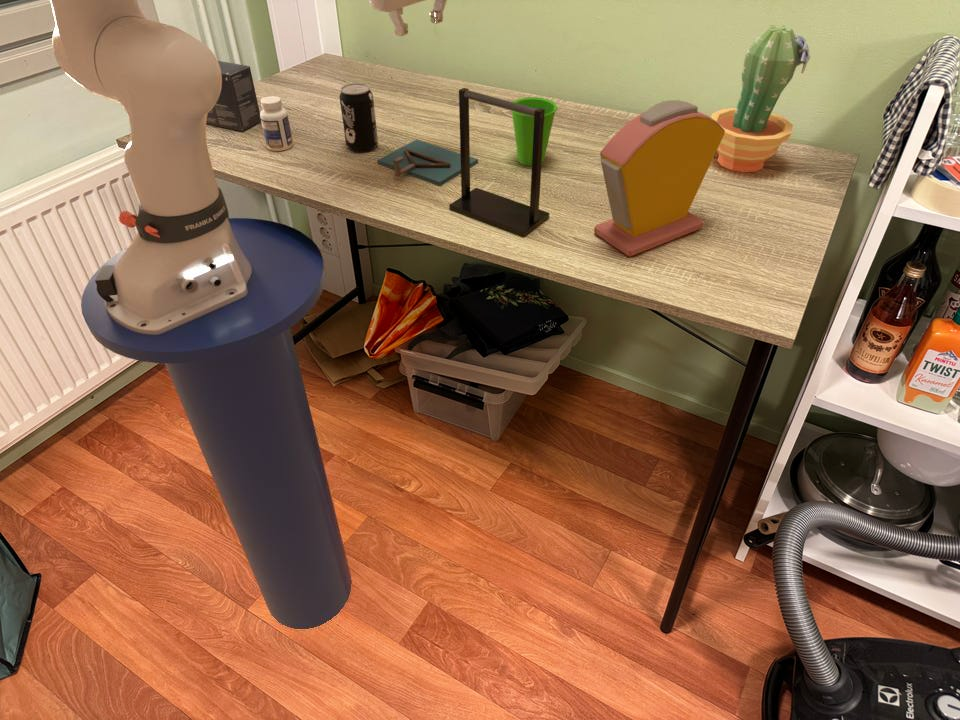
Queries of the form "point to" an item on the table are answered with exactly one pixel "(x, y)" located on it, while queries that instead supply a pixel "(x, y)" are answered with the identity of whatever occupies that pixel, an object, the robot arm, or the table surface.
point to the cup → (532, 127)
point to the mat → (428, 173)
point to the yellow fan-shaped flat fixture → (656, 175)
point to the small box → (235, 99)
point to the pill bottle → (275, 124)
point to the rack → (491, 205)
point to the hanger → (412, 164)
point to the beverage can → (358, 117)
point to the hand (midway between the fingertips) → (419, 28)
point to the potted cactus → (760, 100)
